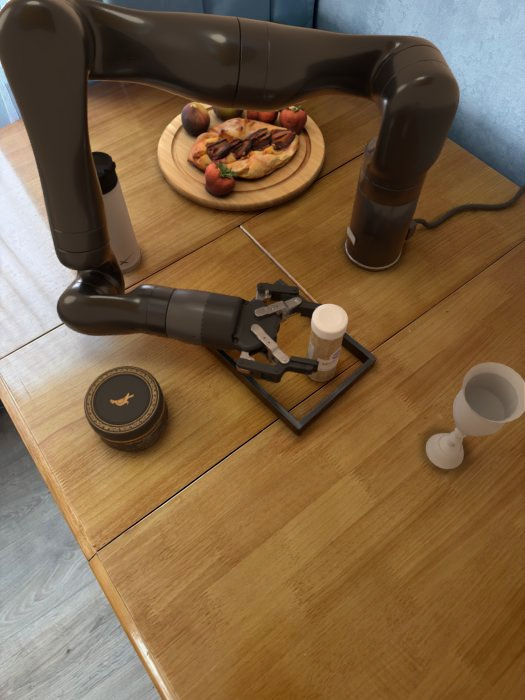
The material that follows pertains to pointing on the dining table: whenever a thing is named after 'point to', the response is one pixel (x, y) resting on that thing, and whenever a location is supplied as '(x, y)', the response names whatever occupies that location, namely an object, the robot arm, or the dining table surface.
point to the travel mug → (117, 214)
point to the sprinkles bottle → (326, 339)
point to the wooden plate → (240, 156)
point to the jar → (126, 408)
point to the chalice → (479, 410)
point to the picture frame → (303, 424)
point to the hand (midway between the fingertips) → (323, 339)
